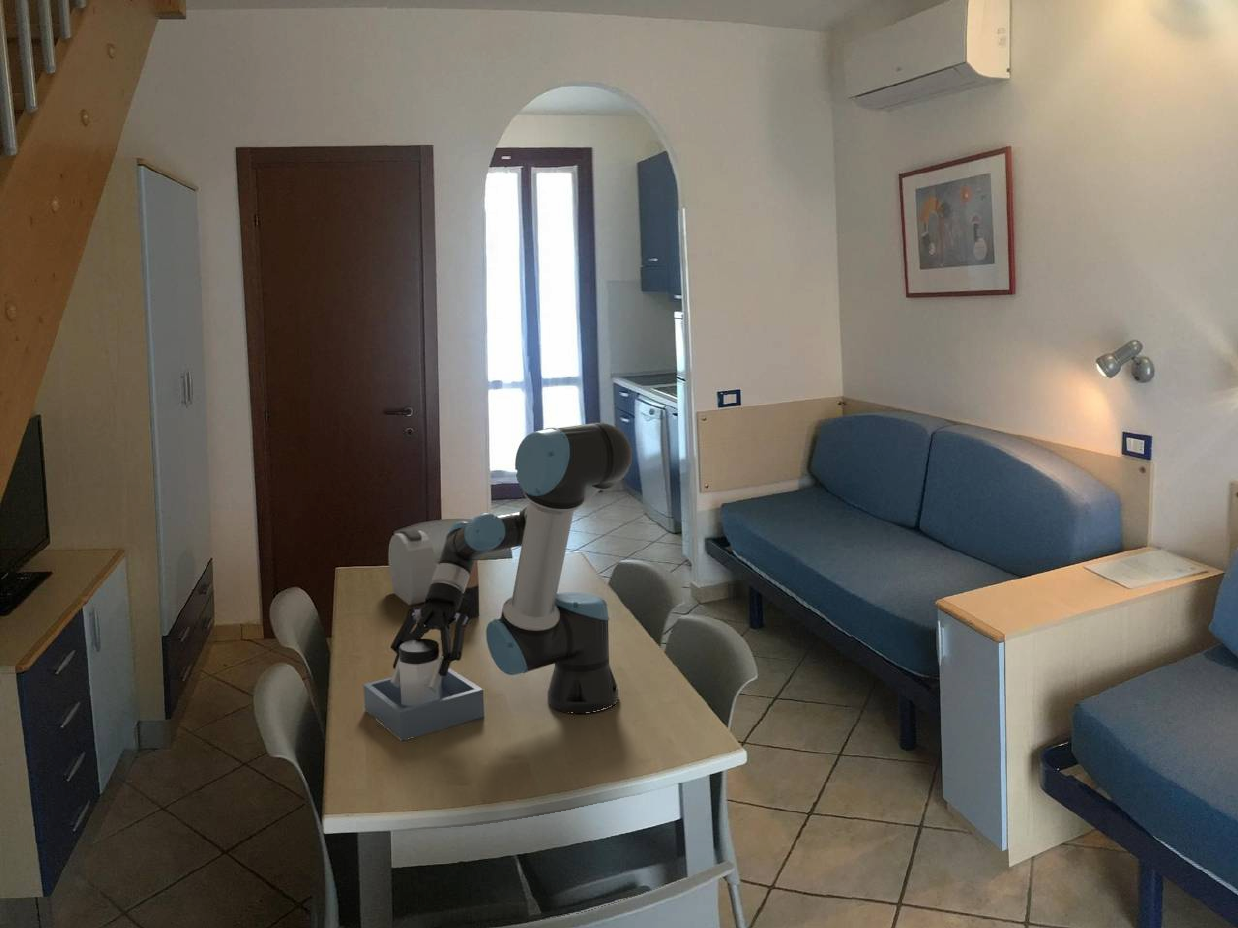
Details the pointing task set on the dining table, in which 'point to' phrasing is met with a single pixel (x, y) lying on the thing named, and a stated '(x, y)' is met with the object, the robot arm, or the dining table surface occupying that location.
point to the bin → (424, 706)
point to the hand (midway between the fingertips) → (413, 687)
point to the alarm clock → (411, 565)
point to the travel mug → (471, 595)
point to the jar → (418, 671)
